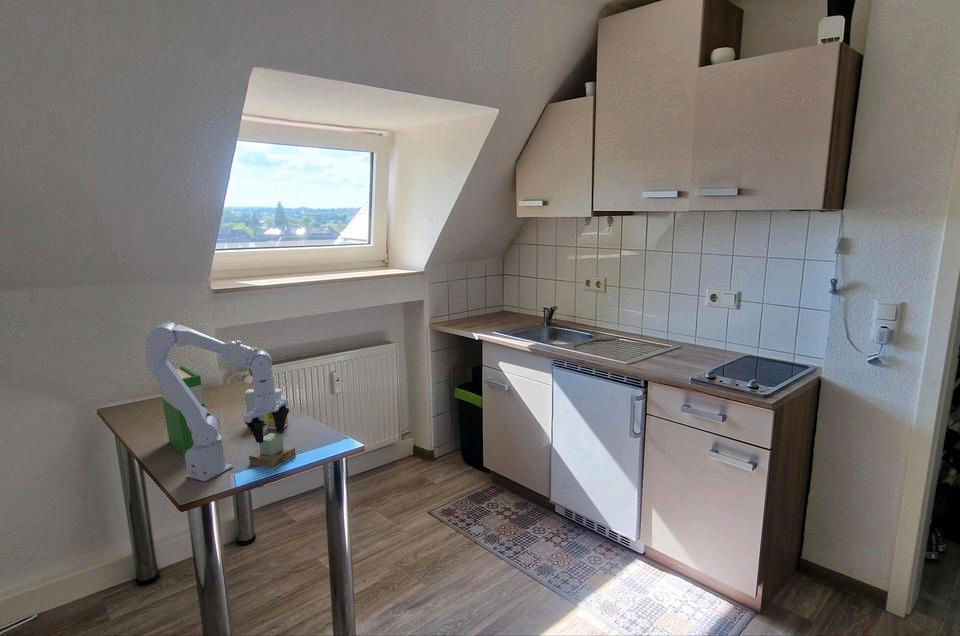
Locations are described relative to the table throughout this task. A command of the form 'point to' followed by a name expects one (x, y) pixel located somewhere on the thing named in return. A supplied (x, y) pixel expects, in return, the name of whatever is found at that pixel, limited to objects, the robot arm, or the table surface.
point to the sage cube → (271, 444)
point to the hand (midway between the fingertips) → (270, 437)
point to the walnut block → (272, 457)
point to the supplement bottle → (269, 416)
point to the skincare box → (252, 403)
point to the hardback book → (174, 418)
